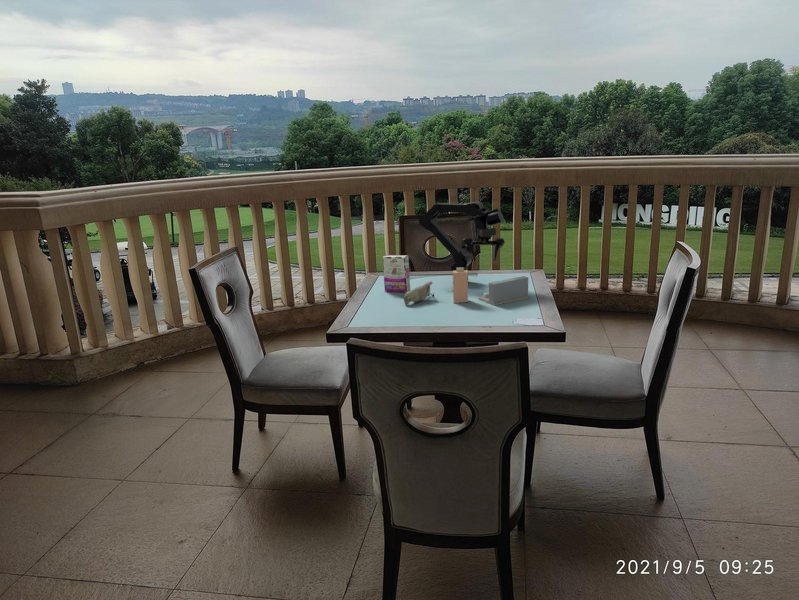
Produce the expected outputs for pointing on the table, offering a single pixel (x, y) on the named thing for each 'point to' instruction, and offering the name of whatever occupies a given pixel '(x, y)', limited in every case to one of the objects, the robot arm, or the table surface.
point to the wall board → (506, 291)
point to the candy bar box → (396, 273)
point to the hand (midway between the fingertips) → (484, 261)
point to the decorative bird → (418, 293)
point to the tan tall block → (460, 285)
